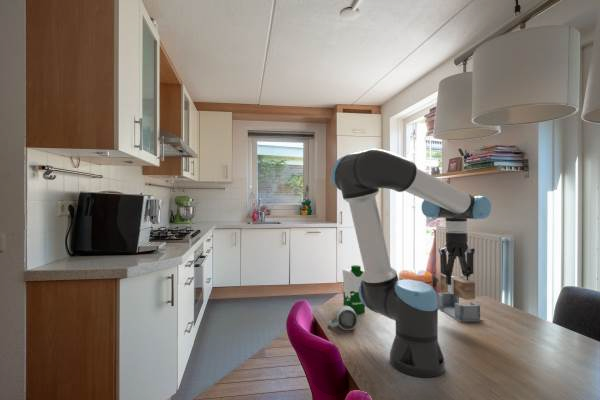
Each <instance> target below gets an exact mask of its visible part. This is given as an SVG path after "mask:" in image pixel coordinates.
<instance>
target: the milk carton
mask: <svg viewBox="0 0 600 400" xmlns="http://www.w3.org/2000/svg"><path fill="white" fill-rule="evenodd" d="M350 267H351V268H342V281H343V283H342V284H343V292H342V293H343V295H342V296H343V305H342V306H349V307H351V308H352V309H353V310H354V311H355V313H356V314H361V313H366V309H365V308H366V306H364V304H363V303H362V302H361V300H360V297H359V286H360V285H361V284H360V282H361V280H362V275H363V273H364V272H365V271H364V269H361V267H362V266H361V265H356V264H355V265H351V266H350Z"/></svg>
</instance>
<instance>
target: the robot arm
mask: <svg viewBox="0 0 600 400" xmlns="http://www.w3.org/2000/svg"><path fill="white" fill-rule="evenodd" d="M330 175H331V181H332V183H333V185H334V186H335V188H336V189H338V190H339V191H341V195H342V199H343V200H344V201H345V202H347V203H348V205H349V209H350V212H351V217H352V222H353V226H354V230H355V235H356V239H357V243H358V248H359V252H360V257H361V261H362V265H363V270H364V271H365V272H364V273H363V275H362V280H361V282H360V284H361V285H360V286H359V297H360V300H361V302H362V303H363V304H364V306H365V308H367V309H369V310H370V311H371V312H374V313H376V314H380V315H382V316H384V317H386V318H389V319H390V320H393V321H395V336H394V339H393V342H392V344H391V347H390V350H389V363H390V364H391V366H392V367H393V368H394V369H396V371H400V372H401V373H403V374H406V375H409V376H413V377H418V378H435V377H438V376H440V375H442V374H443V373H444V372H445V369H446V367H445V366H446V365H445V364H446V363H445V358H444V354H443V352H442V349H441V346H440V344H439V343H440V342H439V340H438V339H439V336H438V335H439V334H438V332H439V329H438V327H439V326H438V324H439V322H438V320H439V318H438V316H439V315H438V314H439V312H438V311H439V310H438V301H437V291H436V290H435V288H434V287H433V286H432V285H430V284H429V283H426V282H423V281H420V280H414V279H408V278H407V279H406V278H405V279H403V278H402V279H399V276H398V271H397V270H396V269H394V267H391V263H390V257H389V253H388V249H387V244H386V243H387V242H386V239H385V234H384V231H383V226H382V225H383V224H382V221H381V217H380V211H379V208H378V203H377V198H376V197H377V195H378V194H379V192H380V189H389V190H392V191H395V192H398V193H403V192H406V193H409V194H410V195H412V196H416V197H418V198H420V199H422V200H423V201H422V203H421V207H420V208H421V211H422V212H421V213H422V214H423V216H425V217H426V218H430V219H431V218H432V219H436V218H437V219H438V218H442V219H444V218H445V231H446V233H445V242H446V244H445V246H444V247H443V248H438V253H439V258H440V259H439V261H440V262H439V263H440V264H439V265H440V275H446V284H448V292H449V293H451V294H454V277H453V276H454V275H453V269H454V264H455V260H456V259H457V258H458V260H459V265H460V269H461V274H460V277H459V278H462V279H465V280H469V277H471V275H474V254H475V251H476V250H475V248H473V247H469V245H468V233H467V232H468V219H470V220H471V219H472V220H485V219H486V218H488V217H489V216H490V214H491V212H492V204H491V200H490V199H489V198H488V197H487V196H484V195H471V194H469V193H467V192H466V191H463V190H461V189H459V188H457V187H455V186H453V185H451V184H449V183H447V182H446V181H444V180H442V179H439V178H437V177H435V176H433V175H431V174H429V173H427V172H425V171H423V170H421V169H419V168H418V167H417V164H416V163H415V162H414V161H412V160H409V159H408V158H406V157H403V156H401V155H400V154H396V153H394V152H391V151H388V150H384V149H381V148H380V149H379V148H378V149H377V148H371V149H367V150H363V151H359V152H354V153H348V154H346V155H344V156H341V157H339V158H338V159H337V160H336V161H335V163H334V165H333V166H332V168H331V174H330ZM447 253H448V254H447ZM452 275H453V276H452ZM448 292H447V293H448Z"/></svg>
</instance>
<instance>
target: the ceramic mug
mask: <svg viewBox="0 0 600 400" xmlns="http://www.w3.org/2000/svg"><path fill="white" fill-rule="evenodd" d="M358 321H359V320H358V314H357V313H355V311H354V310H353V309H352V308H351V307H349V306H343V305H342V306H340V307H339V308H338V309H337V312H336V317H333V318H331V319H330V320H328V325H329V327H330V328H336V327H338V326H339V328H340V329H342V330H344V331H352V330H354V329H355V328H356V326H357V325H358Z"/></svg>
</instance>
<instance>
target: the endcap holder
mask: <svg viewBox="0 0 600 400" xmlns="http://www.w3.org/2000/svg"><path fill="white" fill-rule="evenodd" d="M436 294H437V301H438V309H439V310H440V311H442V312H443V313H445V314H446V315H448V316H449V317H452V318H453V319H455V320H456V321H457V322H459V323H461V322H462V323H463V322H464V323H465V322H469V323H470V322H484V319H483V318H481V305H479V304H478V303H476V302H473V301H471V302H470V304H467V305H465V304H464V305H463V304H460V297H457V296H455V295H453V294H450V293H448V292H436Z"/></svg>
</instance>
